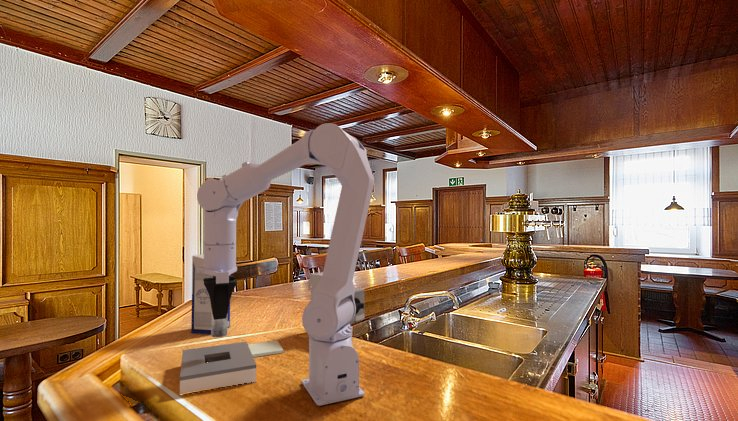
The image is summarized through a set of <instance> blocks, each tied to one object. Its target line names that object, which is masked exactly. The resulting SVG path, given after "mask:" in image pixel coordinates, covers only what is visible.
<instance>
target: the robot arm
mask: <svg viewBox="0 0 738 421" xmlns="http://www.w3.org/2000/svg"><path fill="white" fill-rule="evenodd" d="M367 151H368V150H367V149H366V148H365V147H364V145H363V144H362V143H361V142H360V140H358V139H357V138H356V137H355V136H353V135H350V134H349V133H347V131H344V129H343V128H341V127H340V126H339V125H337V124H335V123H331V122H328V123H327V122H326V123H322V124H320V125H318V126H317V127H316V128H315V129H311V130H309V131H308V130H307V131H306V132H305V133H304V134H303V136H302V137H301V138H300V139H299V140H297V141H295V142H294V143H292V144H291V145H289V146H288V147H286V148H284V149H283V150H281V151H280V152H278V153H276V154H275V155H273V156H272V157H270V158H268V159H267V160H266V161H264V162H262V163H260V162H259V163H258V162H256V161H251V162H249V161H244V162H243V163H241V167H240V168H238V169H237V170H234V171H233V172H231V173H229V174H228V173H225V174H223V175H222V176H221V177H222V178H220V179H215V178H214V179H213V178H208V179H206V180H205V181H204V182H202V183H201V185H200V186H199V188H198V190H197V193H196V195H197V196H196V198H197V199H196V200H197V203H198V205H199V207H201V209H203V254H204V266H203V268H197V273H204V274H209V275H213V278H204V279H203V281H204V285H205V287H206V289H207V291H208V294H209V297H210V302H211V309H212V314H213V318H214V320H217V319H226V317H227V313H228V308H229V303H230V304H231V298H232V295H233V292H234V290H235V288H236V287H237V284H238V281H237V280H235V278H236V277H235V275H232V274H234V273H236V272H238V266H237V219H238V217H239V210H240V208H241V207H242V205H243V203H244V202H246V201H248V200H250V199H252V198H253V197H256V196H257V195H259V194H261V193H263V192H265V191H268V190H269V189H270V187H271V183H272V181H273V180H274V179H277V178H278V177H281V176H283V175H285V174H288V173H289V172H292V171H294V170H297V169H298V168H301V167H302V166H305V165H307V164H312V165H321V166H325V167H327V168H328V169H330V170H331V172H332V173H333V175H334V176H335V178H336V179H337V180H338V181H339V184H340V185H341V190H340V194H339V197H338V198H339V199H338V203H337V207H336V212H335V216H334V221H333V225H332V230H331V235H330V239H329V244H328V248H327V252H326V258H325V262H324V267H323V271H322V272H323V275H322V278H321V280H320V281H319V283H318V284H317V286H316V288H315V289H314V291H313V295H312V299H311V298H310V300H309V302H308V303H307V304H306V306H305V307H304V309H303V312H302V315H301V316H302V317H301V322H302V326H303V328H304V330H305V332H306V333H307V335H308V354H309V355H308V378H305V379H302V380H301V384H302V385H303V387H304V388H305V390H306V391H307V393H308V394H309V396H310V397H311V398H312V400H313V402H314V403H315V405H316V406H318V407H320V406H324V405H328V404H334V403H340V402H343V401H348V400H351V399H356V398H360V397H364V396H365V391H364V390H363V389H362V388H361V387H360V357H359V353H358V351H357V350H356V349H355V348H354V345H353V342H352V336H353V334H352V332H353V331H352V330H353V329H352V326H351V327H350V322H351V321H352V320H353V318H354V316H355V313H356V305H355V301H354V294H355V288H356V287H355V284H354V281H353V280H354V276H355V272H356V267H357V264H358V259H359V253H360V248H361V245H362V242H363V236H364V231H365V228H366V227H365V226H366V222H367V218H368V214H369V208H370V205H371V201H372V195H373V190H374V186H375V176H374V175H373V171H372V169H371V165H370V163H369V159H368V156H367V154H368V153H367Z"/></svg>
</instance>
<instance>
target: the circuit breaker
mask: <svg viewBox="0 0 738 421" xmlns="http://www.w3.org/2000/svg"><path fill="white" fill-rule="evenodd" d="M322 275H323V271H320V272H312V273H309V274H308V276H309V279H308V281H307V286H308V287H307V290H308V291H310V300H311V299H312V295H313V291H314V289H315V288H316V286H317V284H318V283H319V281H320V280H321V278H322ZM365 295H366V294H365V288H358V287H355V294H354V301H355V305H356V313H355V316H354V318H353V320H352V321H351V322H350V327H351V328H352V324H355V323H357V322H360V321H363V320H365V315H366V314H365V312H366V311H365V308H366V306H365V303H366V302H365Z"/></svg>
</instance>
